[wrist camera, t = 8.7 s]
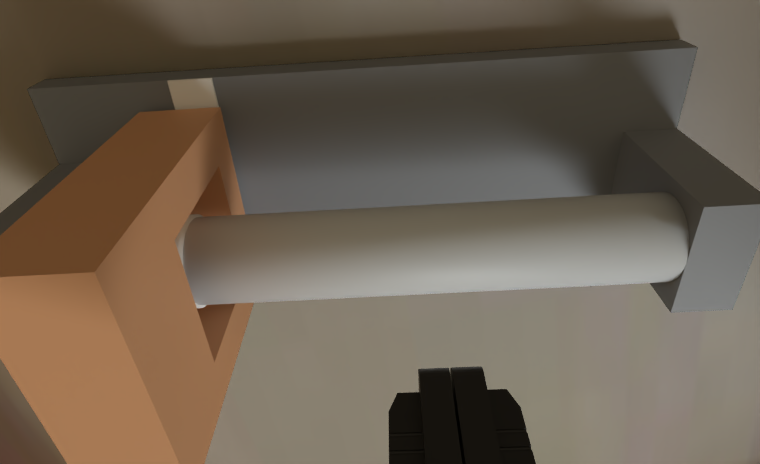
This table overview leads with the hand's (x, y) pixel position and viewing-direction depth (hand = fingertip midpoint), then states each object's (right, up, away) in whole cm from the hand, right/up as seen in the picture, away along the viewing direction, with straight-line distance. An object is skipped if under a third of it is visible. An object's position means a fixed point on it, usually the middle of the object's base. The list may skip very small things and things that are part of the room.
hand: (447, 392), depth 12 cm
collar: (-9, +5, +9) cm, 13 cm away
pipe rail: (-2, +6, +10) cm, 12 cm away
